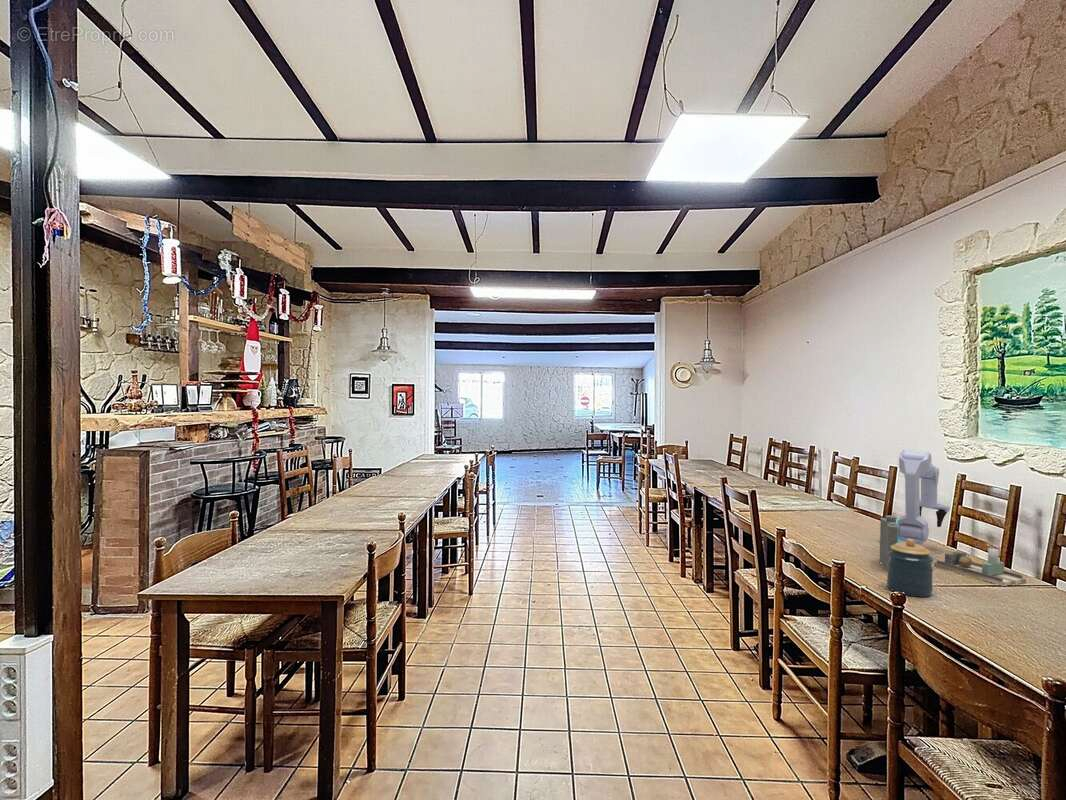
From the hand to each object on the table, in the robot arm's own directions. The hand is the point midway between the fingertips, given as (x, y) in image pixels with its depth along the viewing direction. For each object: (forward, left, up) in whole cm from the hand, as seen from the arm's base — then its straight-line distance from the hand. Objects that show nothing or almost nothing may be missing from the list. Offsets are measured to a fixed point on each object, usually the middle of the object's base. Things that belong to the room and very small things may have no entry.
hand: (929, 524), depth 242 cm
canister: (-58, -33, -11) cm, 68 cm away
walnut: (-16, -25, -7) cm, 30 cm away
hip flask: (-41, -13, -11) cm, 44 cm away
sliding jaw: (-16, -34, -9) cm, 39 cm away
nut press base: (-16, -29, -11) cm, 35 cm away
